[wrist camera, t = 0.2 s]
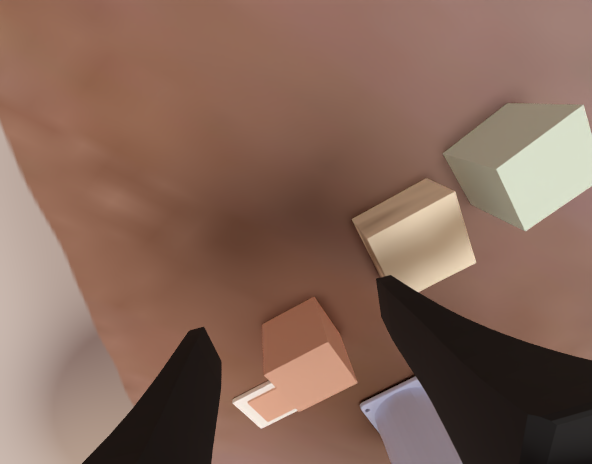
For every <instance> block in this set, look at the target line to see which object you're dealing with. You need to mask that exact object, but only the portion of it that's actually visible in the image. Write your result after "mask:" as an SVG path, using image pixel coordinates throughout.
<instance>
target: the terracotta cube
mask: <svg viewBox="0 0 592 464" xmlns="http://www.w3.org/2000/svg"><path fill="white" fill-rule="evenodd" d="M262 340H263V368H264V376H265V377H266V378H267V379H268V380H269V381H270V382H271V383H272V384H273V385H274V386H275V387H276V388H277V389H278V391H279V392H280V393H281V394H282V395H283V396H284V397H285V398H286V399H287V400H288V401H289V402H290V403H291V404H292V405H293V406H294V407H295V408H296V409H297V410H298V411H299V412H300V411H302V410H304V409H306V408H308V407H310V406H312V405H314V404H316V403H318V402H320V401H322V400H324V399H326V398H328V397H330V396H332V395H334V394H336V393H338V392H340V391H342V390H344V389H346V388H349V387H351V386H353V385H355V384H357V383H358V382H357V379H356V377H355V374H354V371H353V368H352V366H351V363H350V360H349V358H348V355H347V352H346V349H345V347H344V344H343V341H342V338H341V336H340V333H339V332H338V331H337V329H336V328H335V326H334V325H333V323H332V322H331V320H330V319H329V317H328V316H327V314H326V313H325V311H324V310H323V309H322V307H321V306H320V304H319V303H318V301H317V300H316V298H315V297H312V298H310V299H308V300H306V301H305V302H303V303H301V304H299V305H297V306H295V307H293V308H292V309H290V310H288V311H286V312H284V313H282V314H280V315H279V316H277V317H275V318H273V319H271V320H269V321H268V322H266V323H264V324H262Z"/></svg>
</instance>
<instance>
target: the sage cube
mask: <svg viewBox="0 0 592 464" xmlns="http://www.w3.org/2000/svg"><path fill="white" fill-rule="evenodd" d="M443 155H444V157H445V159H446V160H447V162H448V164H449V166H450V168H451V170H452V171H453V173H454V175H455V177H456V179H457V180H458V182H459V184H460V186H461V188H462V190H463V191H464V193H465V195H466V197H467V199H468V200H469V202H470V204H471V205H473V206H475V207H477V208H479V209H481V210H483V211H485V212H487V213H489V214H491V215H493V216H495V217H497V218H499V219H501V220H503V221H505V222H507V223H509V224H511V225H513V226H515V227H518V228H520V229H522V230H524V231H526V230H528V229H529V228H531V227H532V226H534V225H535V224H537V223H538V222H540V221H541V220H543V219H544V218H545V217H547V216H548V215H550V214H551V213H553V212H554V211H556V210H557V209H559V208H560V207H562V206H563V205H564V204H566V203H567V202H569V201H570V200H572V199H573V198H575V197H576V196H578V195H579V194H581V193H582V192H584V191H585V190H586V189H588V188H589V187H591V186H592V134H591V130H590V127H589V123H588V119H587V116H586V112H585V108H584V105H575V104H524V103H507V104H506V105H504V106H503V107H502V108H500V109H499V110H498V111H497V112H495V113H494V114H493V115H491V116H490V117H489V118H488V119H486V120H485V121H484V122H482V123H481V124H480V125H479V126H477V127H476V128H475V129H473V130H472V131H471V132H470V133H468V134H467V135H466V136H464V137H463V138H462V139H461V140H459V141H458V142H457V143H455V144H454V145H453V146H452V147H450V148H449V149H448V150H446V151H445V152H444V153H443Z"/></svg>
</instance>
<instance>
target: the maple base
mask: <svg viewBox="0 0 592 464" xmlns="http://www.w3.org/2000/svg"><path fill="white" fill-rule="evenodd" d="M352 221H353V223H354V225H355V227H356V229H357V231H358V233H359V235H360V237H361V239H362V241H363V243H364V245H365V247H366V249H367V251H368V253H369V255H370V257H371V259H372V261H373V263H374V265H375V267H376V269H377V271H378V273H379V275H380V277H385V276H388V275H392V276H393V277H395V278H396V279H398V280H400V281H401V282H403V283H404V284H406V285H407V286H409V287H411V288H412V289H414V290H415V291H417V292H419V291H421V290H423V289H425V288H427V287H429V286H431V285H433V284H435V283H437V282H439V281H441V280H443V279H445V278H447V277H449V276H451V275H453V274H455V273H457V272H459V271H461V270H463V269H465V268H467V267H469V266H471V265H472V264H474V263H476V261H475V257H474V254H473V251H472V247H471V244H470V240H469V237H468V234H467V230H466V227H465V223H464V220H463V217H462V213H461V210H460V206H459V203H458V200H457V196H456V193H455V191H453V190H451V189H449V188H447V187H445V186H442V185H440V184H438V183H436V182H434V181H432V180H430V179H427V178H426V179H424V180H422V181H420V182H418V183H416V184H415V185H413V186H411V187H409V188H407V189H406V190H404V191H402V192H400V193H398V194H397V195H395V196H393V197H391V198H389V199H387V200H386V201H384V202H382V203H380V204H378V205H377V206H375V207H373V208H371V209H369V210H367V211H366V212H364V213H362V214H360V215H358V216H357V217H355V218H353V219H352Z"/></svg>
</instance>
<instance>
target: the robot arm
mask: <svg viewBox="0 0 592 464" xmlns="http://www.w3.org/2000/svg"><path fill="white" fill-rule="evenodd" d="M376 282H377V289H378V296H379V303H380V310H381V317H382V319H383V321H384V323H385V325H386V328H387V330H388V332H389V334H390V336H391V338H392V340H393V341H394V343H395V344H396V346H397V348H398V349H399V351H400V352H401V354H402V356H403V357H404V359H405V360H406V362H407V363H408V365H409V367H410V368H411V370H412V371H413V373H414V374H415V377H413V378H411V379H409V380H407V381H405V382H403V383H401V384H399V385H397V386H395V387H393V388H390V389H388V390H386V391H384V392H382V393H380V394H378V395H376V396H374V397H372V398H370V399H368V400H366V401H364V402H362V403H361V404H360V408H361V410H362V411H363V413H364V414H365V415H366V417H367V418H368V419H369V421H370V422H371V423H372V424H373V426H374V427H375V428H376V430H377V431H378V432H379V434H380V435H381V437H382V440H383V443H384V445H385V448H386V451H387V453H388V456H389V459H390V461H391V464H592V360H588V359H583V358H579V357H575V356H571V355H568V354H564V353H561V352H557V351H554V350H550V349H547V348H543V347H540V346H537V345H534V344H531V343H528V342H525V341H522V340H519V339H516V338H513V337H511V336H508V335H505V334H502V333H500V332H497V331H495V330H492V329H489V328H487V327H485V326H482V325H480V324H478V323H476V322H473V321H471V320H469V319H466V318H464V317H462V316H460V315H458V314H456V313H454V312H452V311H450V310H448V309H446V308H444V307H443V306H441V305H439V304H437V303H436V302H434V301H432V300H430V299H429V298H427V297H425V296H423V295H422V294H420V293H419V292H417V291H415V290H414V289H412V288H411V287H409V286H407V285H406V284H404V283H403V282H401V281H400V280H398V279H396V278H395V277H393V276H392V275H388V276H385V277H381V278H377V279H376ZM220 392H221V360H220V358H219V356H218V354H217V352H216V350H215V348H214V346H213V344H212V342H211V340H210V338H209V336H208V334H207V332H206V330H205V328H204V327H201V328H197V329H194V330H190V331H189V332H188V333H187V335H186V336H185V337H184V339H183V340H182V342H181V343H180V345H179V346H178V347H177V349H176V350H175V352H174V353H173V355H172V356H171V358H170V359H169V360H168V362H167V363H166V365H165V366H164V368H163V369H162V370H161V372H160V373H159V375H158V376H157V377H156V379H155V380H154V381H153V383H152V384H151V385H150V387H149V388H148V389H147V391H146V392H145V393H144V394H143V396H142V397H141V398H140V400H139V401H138V402H137V404H136V405H135V406H134V407H133V409H132V410H131V411H130V412H129V413H128V414H127V416H126V417H125V418H124V419H123V420H122V421H121V423H120V424H119V425H118V426H117V427H116V428H115V430H114V431H113V432H112V433H111V434H110V435H109V436H108V437H107V438H106V439H105V440H104V441H103V442H102V443H101V444H100V445H99V447H97V449H96V450H95V451H94V452H93V453H92V454H91V455H90V456H89V457H88V458H87V459H86V460H85V461H84V462H83V463H82V464H211V460H212V450H213V443H214V436H215V429H216V422H217V415H218V407H219V400H220Z"/></svg>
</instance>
